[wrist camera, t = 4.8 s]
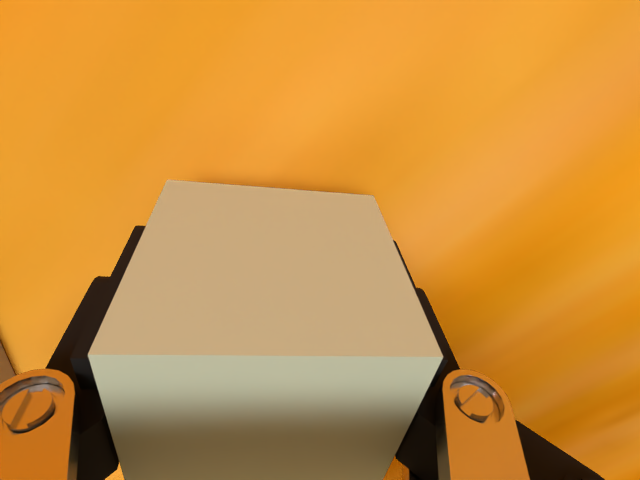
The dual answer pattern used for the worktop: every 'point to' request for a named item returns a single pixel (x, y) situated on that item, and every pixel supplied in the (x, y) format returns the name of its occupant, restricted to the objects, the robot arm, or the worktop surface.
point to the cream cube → (262, 339)
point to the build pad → (5, 366)
